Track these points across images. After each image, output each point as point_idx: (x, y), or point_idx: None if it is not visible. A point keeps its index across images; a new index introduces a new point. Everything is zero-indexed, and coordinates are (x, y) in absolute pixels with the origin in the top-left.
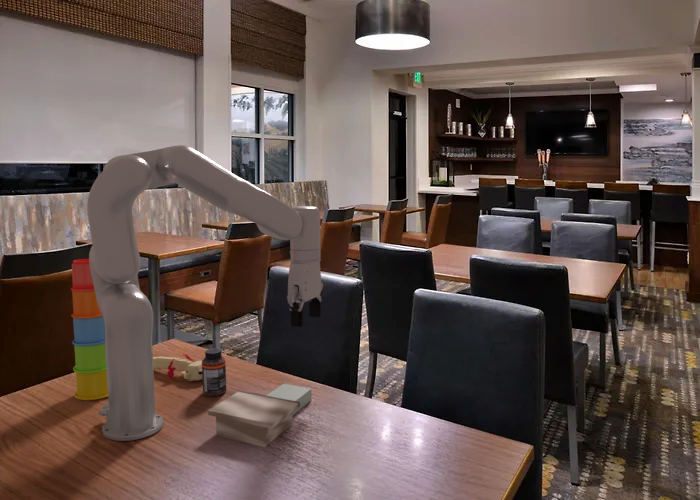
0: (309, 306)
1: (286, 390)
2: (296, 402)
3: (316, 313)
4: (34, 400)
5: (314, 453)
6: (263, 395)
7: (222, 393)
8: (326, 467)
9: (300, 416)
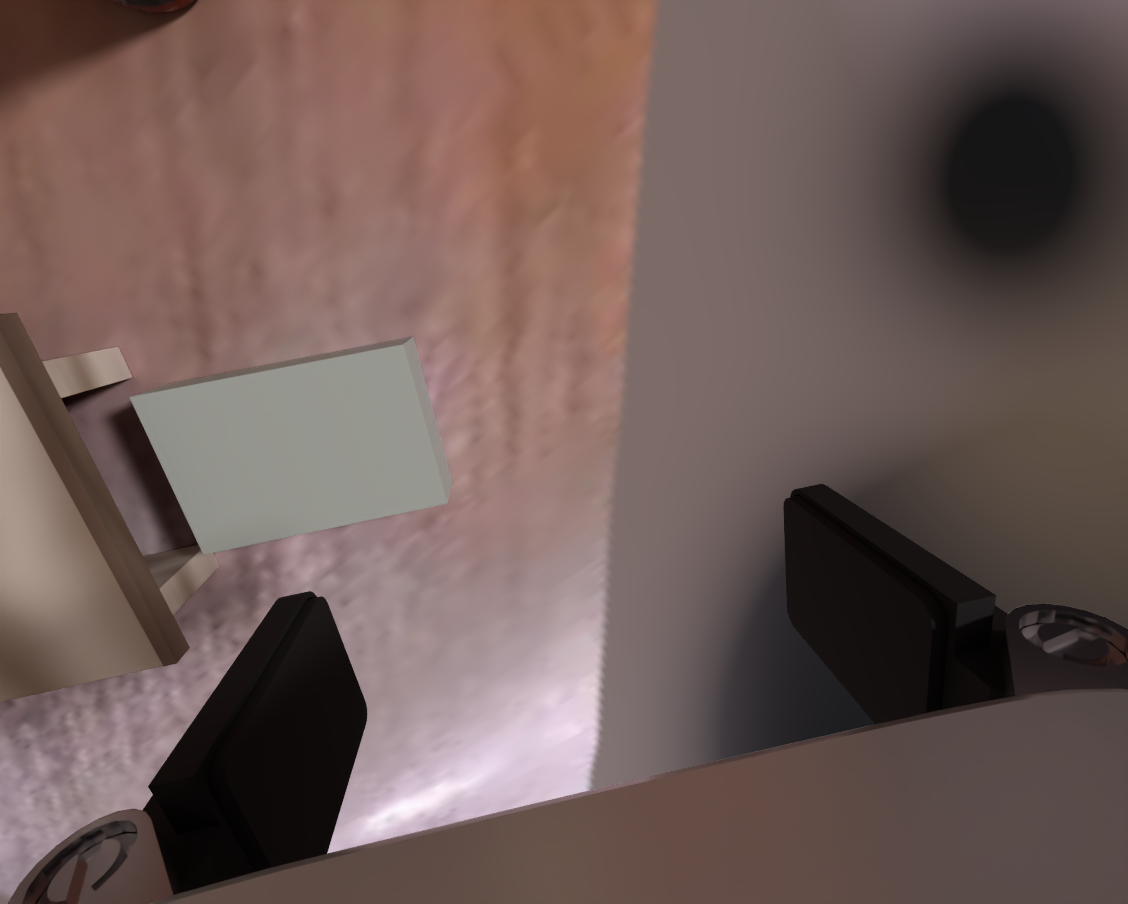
0: (874, 566)
1: (343, 421)
2: (160, 656)
3: (810, 614)
4: None
5: (124, 748)
6: (73, 482)
7: (153, 12)
8: (94, 816)
9: (294, 546)
